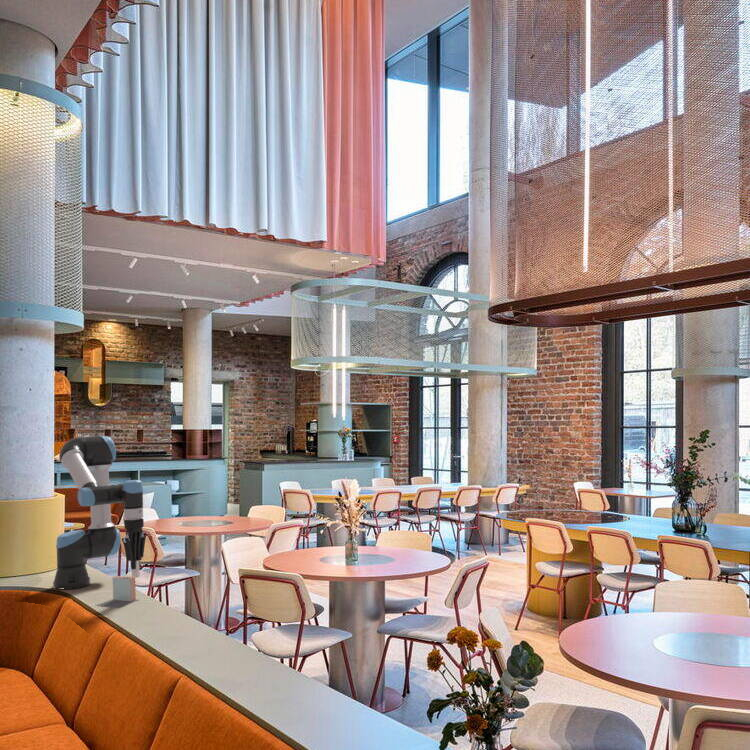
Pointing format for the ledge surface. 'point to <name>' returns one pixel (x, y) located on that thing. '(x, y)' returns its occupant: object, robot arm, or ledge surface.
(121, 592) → the block
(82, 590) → the ledge surface
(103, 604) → the mat
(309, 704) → the ledge surface
